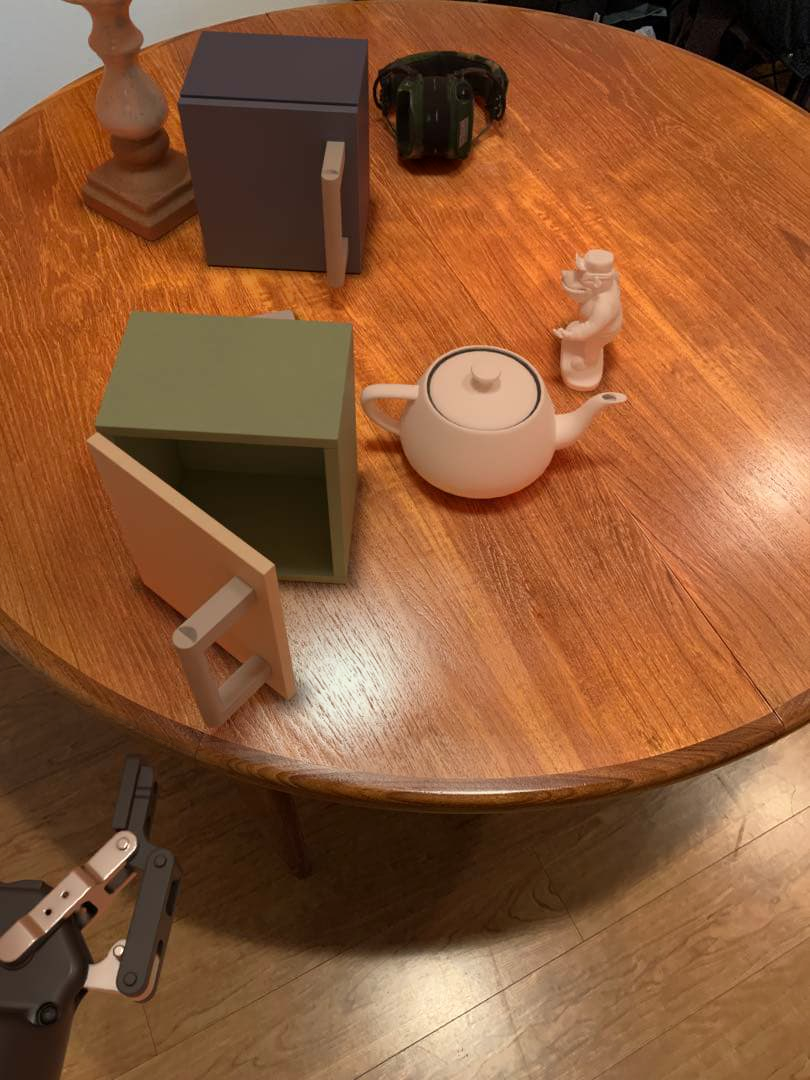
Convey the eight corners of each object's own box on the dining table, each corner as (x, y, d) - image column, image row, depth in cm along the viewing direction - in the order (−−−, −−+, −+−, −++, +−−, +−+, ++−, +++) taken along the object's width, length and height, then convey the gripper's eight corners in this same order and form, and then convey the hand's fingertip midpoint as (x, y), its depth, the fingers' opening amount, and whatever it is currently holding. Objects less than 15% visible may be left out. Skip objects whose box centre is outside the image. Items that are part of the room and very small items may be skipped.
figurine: (545, 321, 93) (565, 219, 83) (610, 328, 93) (638, 227, 83) (541, 387, 88) (562, 287, 78) (610, 394, 87) (640, 295, 78)
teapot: (353, 506, 79) (349, 422, 71) (369, 389, 87) (367, 300, 78) (610, 525, 79) (639, 443, 70) (603, 406, 87) (628, 318, 78)
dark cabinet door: (355, 311, 93) (351, 151, 78) (197, 302, 93) (163, 141, 78) (361, 267, 97) (358, 106, 82) (209, 258, 97) (178, 96, 82)
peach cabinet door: (232, 758, 66) (190, 642, 52) (86, 632, 72) (11, 494, 57) (297, 691, 69) (275, 564, 55) (152, 575, 75) (97, 431, 60)
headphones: (531, 133, 101) (512, 65, 115) (449, 40, 94) (439, -22, 108) (441, 215, 108) (433, 140, 122) (358, 133, 101) (360, 64, 114)
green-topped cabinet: (346, 584, 75) (337, 439, 60) (150, 572, 75) (93, 425, 60) (357, 477, 81) (353, 322, 66) (176, 467, 81) (131, 310, 67)
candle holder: (152, 243, 98) (94, 10, 79) (81, 203, 102) (9, -29, 82) (223, 193, 103) (186, -37, 84) (154, 157, 107) (102, -72, 87)
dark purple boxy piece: (361, 266, 97) (358, 103, 82) (210, 258, 97) (179, 93, 82) (369, 201, 103) (368, 39, 88) (227, 194, 103) (201, 30, 89)
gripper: (100, 1168, 32) (185, 730, 41) (-305, 1143, 32) (-132, 712, 41) (145, 1167, 39) (210, 786, 48) (-195, 1146, 39) (-65, 770, 48)
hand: (51, 752), depth 45 cm, fingers open, 8 cm apart
